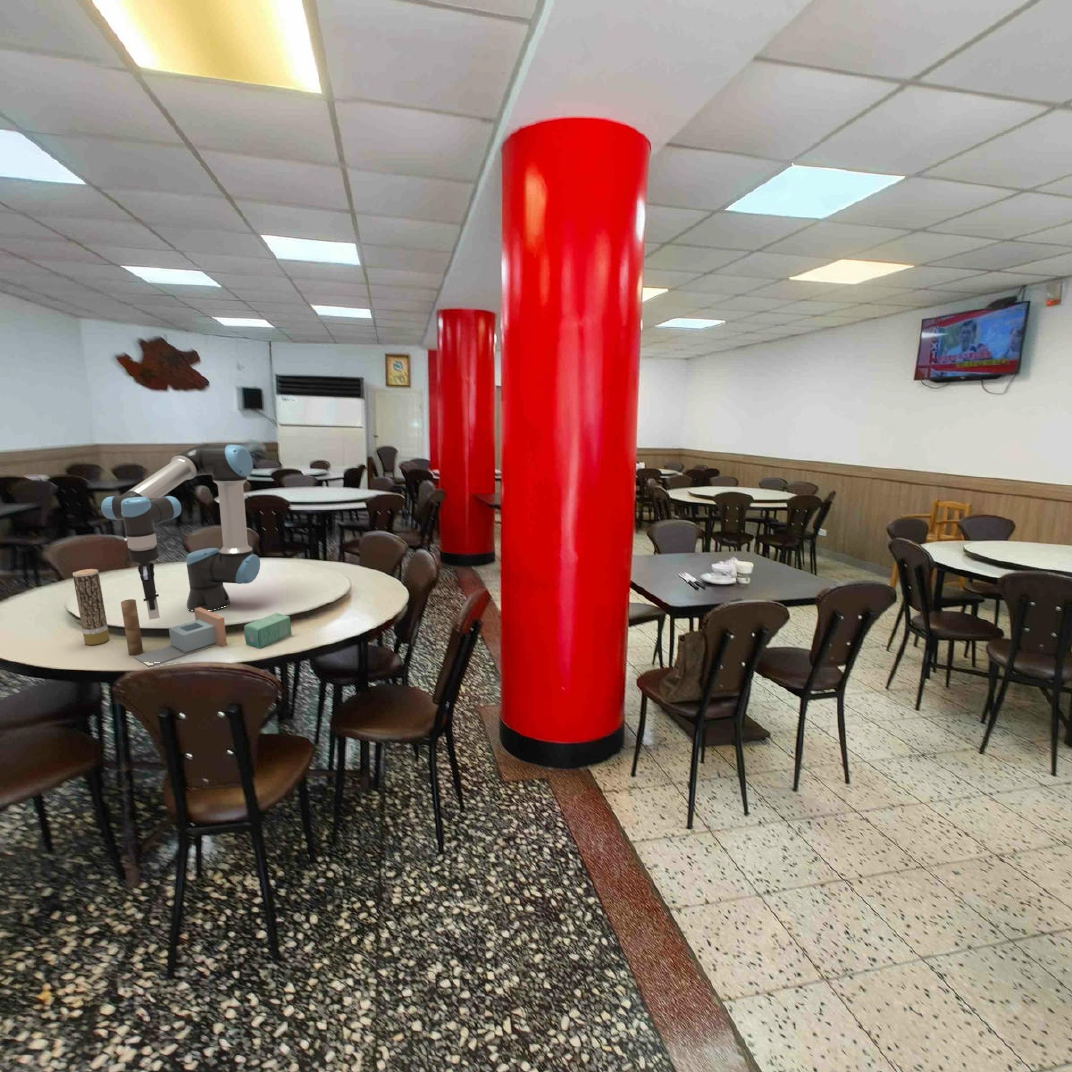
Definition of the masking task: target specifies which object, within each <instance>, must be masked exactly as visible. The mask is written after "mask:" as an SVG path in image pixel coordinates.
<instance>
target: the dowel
mask: <svg viewBox="0 0 1072 1072" xmlns="http://www.w3.org/2000/svg"><path fill="white" fill-rule="evenodd" d="M120 607H121V612H122V619H123V625H124V627H123V628H124V632H125V633H124V634H125V639H126V644H127V652H128V655H129V656H134V657H135V656H138V655H141V654H144V647H143V646H144V645H143V638H142V632H141V627H140V620H139V613H138V605H137V600H136V599H134V598H133V599H130V598H129V599H125V600H122V601H120Z"/></svg>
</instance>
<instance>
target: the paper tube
mask: <svg viewBox="0 0 1072 1072" xmlns="http://www.w3.org/2000/svg"><path fill="white" fill-rule="evenodd" d="M99 572H100V571H99V570H98V569H96V568H95V569H94V568H89V569H88V568H87V569H80V570H77V571H74V572H72V577H73V583H74V589H75V595H76V601H77V606H78V607H77V608H78V612H79V618H80V622H81V629H82V635H83V640H84V643H85V644H86V645H88V646H95V645H100V644H103V643H106V642H107V641H109V639H110V634H109V628H108V627H109V626H108V622H107V616H106V610H105V603H104V598H103V592H102V584H101V578H100V573H99Z"/></svg>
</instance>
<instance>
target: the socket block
mask: <svg viewBox="0 0 1072 1072" xmlns="http://www.w3.org/2000/svg"><path fill="white" fill-rule="evenodd" d="M168 632H169V633H168V634H169V640H170V645H173V646H174V647H176V648H178V649H180V650H182V651H184V652H188V651H191V650H194V649H198V648H201V647H204V646H207V645H210V644H213V643H216V636H215V627H214V626H213V625H211V624H209V623H207V622H204V621H202V620H200V619H199V620H196V619H195V620H193V621H189V622H186V623H182V624H178V625H175V626H171V627H168Z"/></svg>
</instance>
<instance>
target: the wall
mask: <svg viewBox="0 0 1072 1072" xmlns="http://www.w3.org/2000/svg"><path fill="white" fill-rule="evenodd" d="M194 611H195V612H194V617H195V620H199V619H200V620H202V621H204V622H207V623H209V624H211V625H213V626H214V627H215V636H216V644H217V645H216V646H219V647H222V648H223V647H224V646H227V645H228V643H227V641H228V640H227V633H226V626H225V625H226V624H225V617H223V616H222V615H219V614H216V613H214V612H213V611H208V610H206V609H203V608H201V607H199V608H195V609H194Z"/></svg>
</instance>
